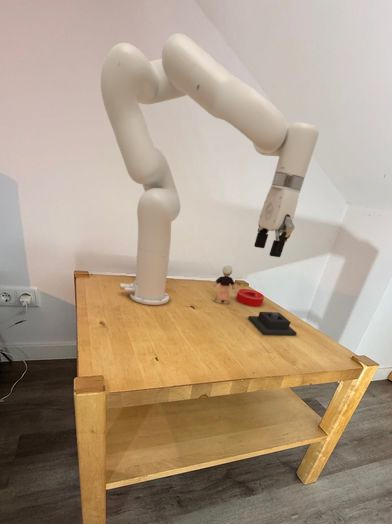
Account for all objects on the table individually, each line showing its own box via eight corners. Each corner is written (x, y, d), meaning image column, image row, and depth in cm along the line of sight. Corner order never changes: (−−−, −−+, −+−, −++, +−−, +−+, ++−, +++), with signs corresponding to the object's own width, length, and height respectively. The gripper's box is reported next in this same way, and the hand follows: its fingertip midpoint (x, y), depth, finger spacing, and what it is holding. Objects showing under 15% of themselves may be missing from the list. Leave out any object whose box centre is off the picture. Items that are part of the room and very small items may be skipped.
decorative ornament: (232, 295, 112) (234, 287, 111) (256, 297, 115) (258, 289, 113) (240, 305, 104) (243, 296, 103) (265, 307, 107) (268, 299, 105)
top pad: (267, 329, 87) (270, 321, 86) (257, 318, 93) (259, 311, 92) (288, 329, 90) (290, 322, 88) (276, 319, 95) (279, 312, 94)
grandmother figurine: (228, 299, 107) (235, 264, 101) (232, 304, 104) (241, 268, 98) (208, 299, 104) (215, 263, 98) (212, 303, 101) (220, 266, 95)
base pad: (263, 335, 86) (267, 321, 83) (247, 318, 95) (251, 305, 92) (295, 335, 89) (300, 322, 87) (277, 319, 98) (281, 307, 96)
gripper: (259, 178, 82) (242, 242, 90) (292, 183, 67) (268, 258, 76) (282, 184, 84) (264, 246, 92) (319, 189, 70) (293, 262, 78)
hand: (266, 251), depth 84 cm, fingers open, 9 cm apart
